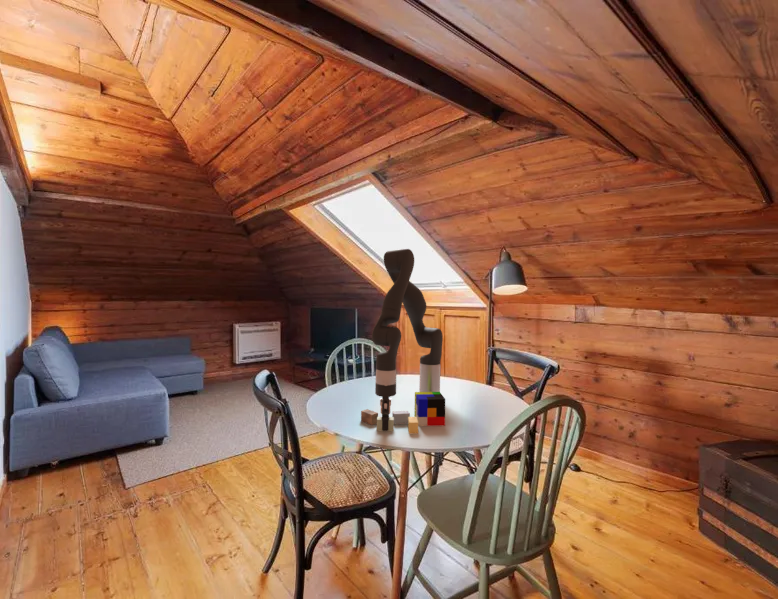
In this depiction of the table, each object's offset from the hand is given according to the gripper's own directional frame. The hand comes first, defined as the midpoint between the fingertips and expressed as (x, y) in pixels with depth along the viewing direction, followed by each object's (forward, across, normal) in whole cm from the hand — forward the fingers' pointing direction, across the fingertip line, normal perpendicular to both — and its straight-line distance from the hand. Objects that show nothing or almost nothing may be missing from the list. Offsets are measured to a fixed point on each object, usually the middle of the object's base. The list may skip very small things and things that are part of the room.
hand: (385, 426), depth 143 cm
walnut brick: (+1, -7, -6) cm, 9 cm away
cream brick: (+1, 0, 0) cm, 1 cm away
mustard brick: (+1, +1, +10) cm, 10 cm away
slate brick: (+1, -7, +6) cm, 9 cm away
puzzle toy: (+1, -9, +17) cm, 19 cm away
